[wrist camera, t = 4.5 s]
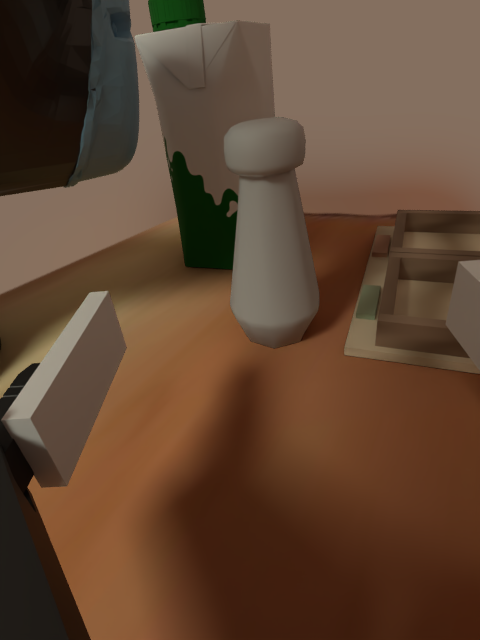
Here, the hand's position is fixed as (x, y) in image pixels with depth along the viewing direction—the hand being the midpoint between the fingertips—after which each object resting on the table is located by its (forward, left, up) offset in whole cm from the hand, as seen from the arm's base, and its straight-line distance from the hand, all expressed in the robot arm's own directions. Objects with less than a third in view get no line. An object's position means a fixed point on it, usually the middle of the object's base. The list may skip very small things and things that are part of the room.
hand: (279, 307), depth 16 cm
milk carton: (-11, +21, -8) cm, 25 cm away
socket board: (+7, +17, -7) cm, 20 cm away
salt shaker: (-3, +9, -8) cm, 12 cm away
